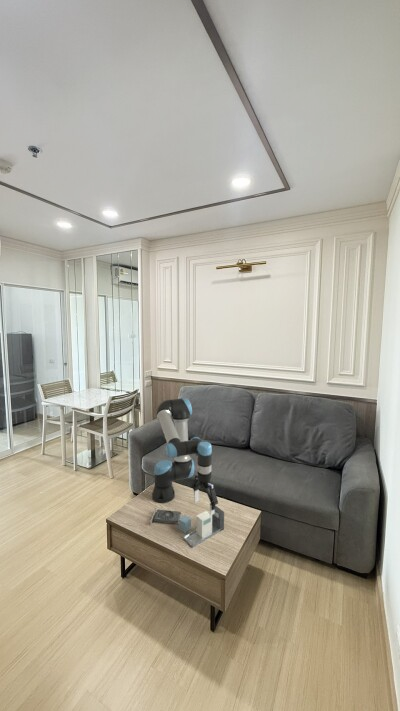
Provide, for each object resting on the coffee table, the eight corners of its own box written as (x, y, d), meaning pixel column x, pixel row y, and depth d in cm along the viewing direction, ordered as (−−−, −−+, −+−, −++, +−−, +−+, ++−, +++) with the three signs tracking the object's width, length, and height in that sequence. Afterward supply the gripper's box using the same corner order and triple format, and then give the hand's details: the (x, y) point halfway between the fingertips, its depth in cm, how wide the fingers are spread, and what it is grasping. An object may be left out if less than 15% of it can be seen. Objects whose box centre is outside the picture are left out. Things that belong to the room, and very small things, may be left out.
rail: (183, 538, 155) (183, 520, 153) (214, 521, 168) (214, 504, 167) (192, 547, 148) (192, 528, 147) (223, 529, 162) (224, 512, 161)
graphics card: (148, 520, 164) (154, 507, 176) (148, 526, 165) (154, 512, 177) (177, 523, 162) (181, 509, 174) (177, 529, 163) (181, 515, 174)
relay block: (178, 529, 162) (178, 519, 161) (184, 524, 166) (184, 514, 165) (185, 533, 159) (185, 522, 158) (191, 527, 163) (191, 518, 162)
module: (196, 532, 158) (196, 515, 157) (206, 527, 162) (206, 510, 161) (202, 538, 154) (202, 520, 153) (212, 532, 158) (212, 515, 157)
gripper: (185, 463, 162) (185, 498, 164) (214, 484, 142) (213, 523, 145) (196, 460, 166) (195, 494, 169) (225, 479, 147) (224, 517, 149)
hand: (204, 507), depth 157 cm, fingers open, 13 cm apart
